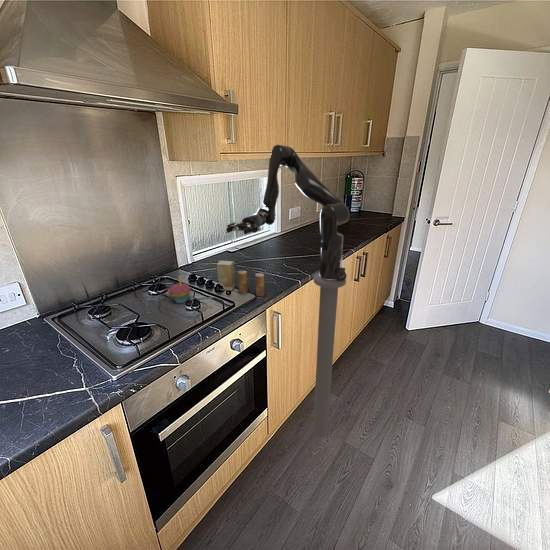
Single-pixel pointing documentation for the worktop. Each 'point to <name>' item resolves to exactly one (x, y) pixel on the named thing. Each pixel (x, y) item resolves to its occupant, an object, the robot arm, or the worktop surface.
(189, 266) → the worktop surface
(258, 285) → the oak pegs
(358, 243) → the worktop surface
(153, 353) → the worktop surface
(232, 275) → the cosmetic box
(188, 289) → the cupcake
